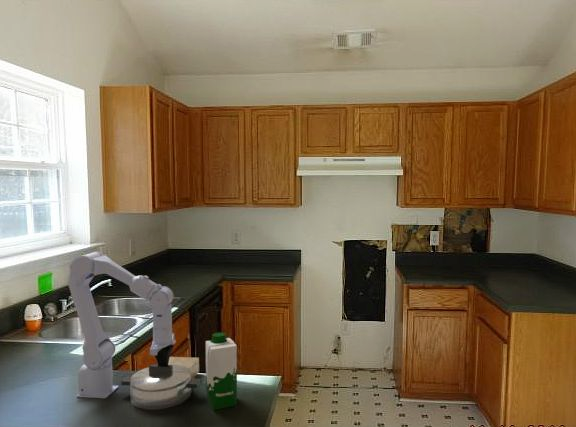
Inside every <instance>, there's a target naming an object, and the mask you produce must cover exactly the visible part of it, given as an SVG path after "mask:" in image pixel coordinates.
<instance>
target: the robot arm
mask: <svg viewBox="0 0 576 427" xmlns="http://www.w3.org/2000/svg"><path fill="white" fill-rule="evenodd" d="M68 266H69V270H70V272H69V278H68V288H69V291H70V294H71V297H72V300H73V304H74V307H75V310H76V314H77V317H78V320H79V323H80V327H81V329H82V334H83V337H84V341H83V344H82V347H81V348H82V351H83V354H82V355H83V356H82V362H83V364H82V365H81V367H80V368H79V371H78V376H77V384H78V394H77V398H89V399H91V398H93V399H107V398H108V397H109V396H110V395H111V394H112V393H114V391H116V390H117V389H118V388H119V385H114V384H113V382H114V380H113V379H114V378H113V358H112V357H113V356H114V355H115V353H116V344H115V343H114V342H113V341H112V340H111V338H110V336H109V334H108V333H107V332H105V331H104V329H103V327H102V324H101V320H100V317H99V314H98V311H97V307H96V305H95V300H94V297H93V294H92V291H91V288H90V283H91V282H92V279H94V277H95V275H103V274H104V275H108V276H110V277H111V278H114V279H116V280H118V281H119V282H122V283H123V284H125V285H127V286H128V287H129V289H130V290H129V291H130V292H132V293H134V294H135V295H137V296H139V297H140V298H142V299H144V300H145V301H147V302H149V304H150V307H151V308H152V342H151V343H152V344H151V347H150V348H149V356H154V358H155V360H156V363H157V365H168V363H169V358H170V357H171V355H172V351H173V349H174V345H175V344H176V343H177V341H176V339H175V333H173V311H172V301H173V300H174V292H173V290H172V289H171V288H169V286H164V285H162V284H160V283H158V284H157V283H155V282H154V281H152V280H151V279H149V278H150V277H149V276H148V275H142V274H141V275H134V273H131V272H130V271H128V270H127V269H126V268H124V267H123V266H121V265H119V264H117V263H116V262H114V261H113V260H112V259H111V258H110V257H109V256H107V255H104V254H102V253H101V252H99V251H93V252H92V251H91V252H89V253H87V254H84V255H83V254H82V255H77V256H76V257H75V258H74V259H73V260H72V261H71V263H70V264H69V265H68Z"/></svg>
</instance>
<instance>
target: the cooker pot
mask: <svg viewBox="0 0 576 427" xmlns="http://www.w3.org/2000/svg"><path fill="white" fill-rule="evenodd" d="M168 364H175V365H181V366H184V367H186V368H188V369H189V370H190V378H189V380H188V381H187V382H185V383H184V384H182V385H180V386H178V387H175V388H172V389H168V390H162V391H142V390H138V389H135V388H134V387H132V385H131V377H132V376H133V375H126V377H124V378H123V379H122V380H121V382H120V383H121V384H120V385H121V386H130V387H129V388H130V390H129V391H130V397H129V398H130V403H131V405H133V407H136V408H138V409H142V410H163V409H168V408H172V407H175V406H177V405H180V404H182V403H184V402H185V401H187V400H188V399H189V398H190V396H191V395H192V389H198V388H199V386H200V384H201V383H202V379H201V378H196V376H197V375H198V374H199V373H200V357H192V356H191V357H189V356H187V357H186V356H170V358H169V363H168Z"/></svg>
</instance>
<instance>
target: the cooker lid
mask: <svg viewBox="0 0 576 427" xmlns="http://www.w3.org/2000/svg"><path fill="white" fill-rule="evenodd" d="M131 376H132V377H131V385H132V387H134V388H135V389H138V390H142V391H162V390H168V389H172V388H175V387H178V386H180V385H182V384H184V383H185V382H187V381H188V380H189V378H190V370H189V369H188V368H186V367H184V366H181V365H175V364H168V365H158V364H153V363H151V364H150V365H149V366H148V367H145V368H142V369H140V370H138V371H137V372H135V373H134V374H132V375H131Z"/></svg>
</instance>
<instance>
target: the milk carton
mask: <svg viewBox="0 0 576 427" xmlns="http://www.w3.org/2000/svg"><path fill="white" fill-rule="evenodd" d="M237 351H238V348H237V344H236V343H235V342H234V340H232V339H231V338H230V337H227V335H226V333H225V332H214V333H212V337H211V339H210V340H206V341H205V389H206V396H207V398H206V399H207V401H208V403H209V405H210V406H211V408H212V411H216V410H217V411H218V410H220V409H225V408H230V407H234V406H237V402H238V401H237V395H238V394H237V393H238V392H237V391H238V376H237V374H238V369H237V368H238V367H237V366H238V364H237V363H238V362H237V357H238V356H237V354H238V353H237Z"/></svg>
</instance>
